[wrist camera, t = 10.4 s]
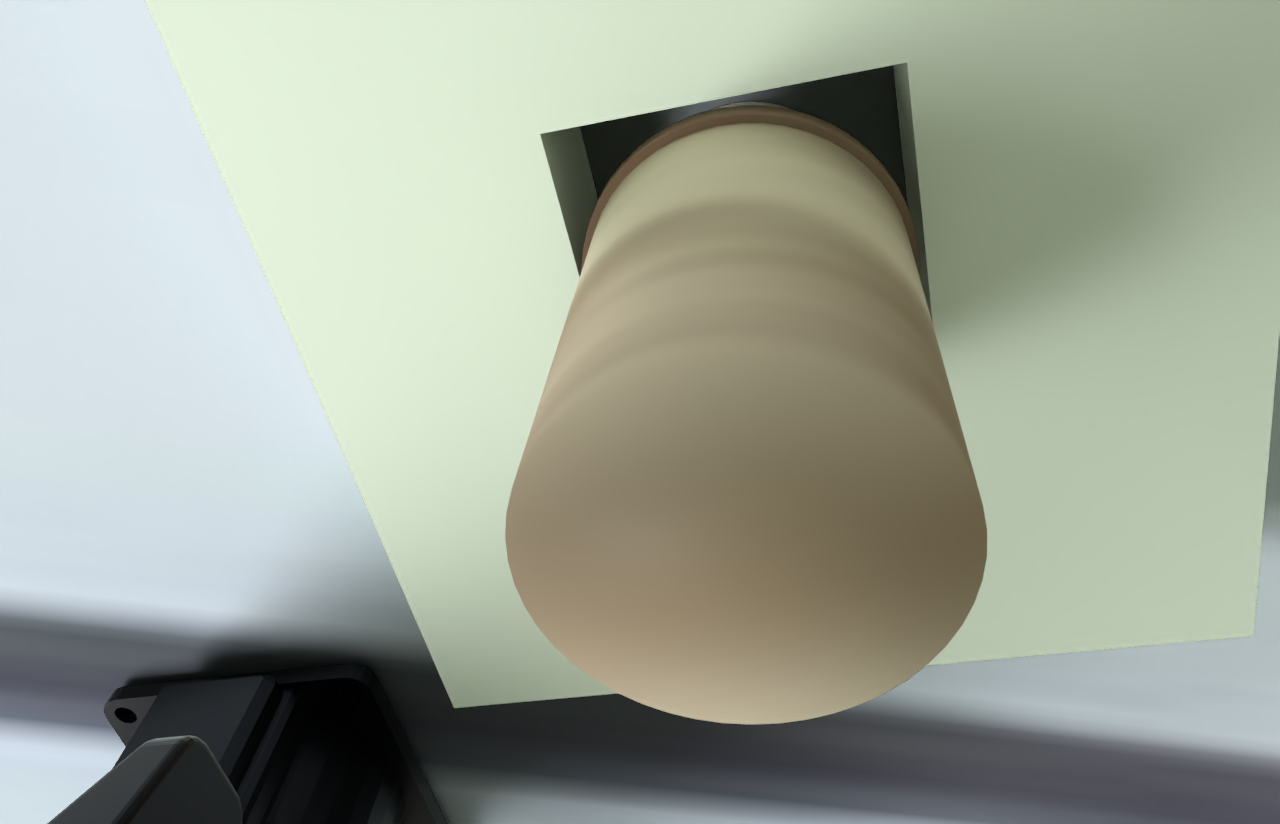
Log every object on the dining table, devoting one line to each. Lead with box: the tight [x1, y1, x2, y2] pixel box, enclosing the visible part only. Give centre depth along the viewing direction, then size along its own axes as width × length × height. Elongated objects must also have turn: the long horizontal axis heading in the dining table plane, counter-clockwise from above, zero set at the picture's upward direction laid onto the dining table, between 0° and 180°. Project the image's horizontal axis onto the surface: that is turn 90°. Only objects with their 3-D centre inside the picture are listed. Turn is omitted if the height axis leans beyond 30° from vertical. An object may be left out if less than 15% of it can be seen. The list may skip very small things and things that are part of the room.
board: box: [145, 0, 1280, 708], centre depth 16 cm, size 16×14×2 cm
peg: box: [505, 102, 987, 725], centre depth 14 cm, size 5×5×9 cm
